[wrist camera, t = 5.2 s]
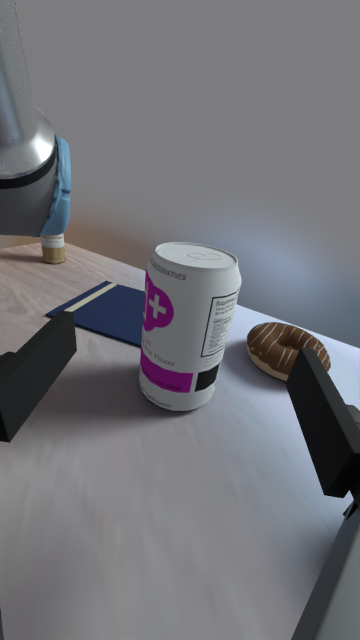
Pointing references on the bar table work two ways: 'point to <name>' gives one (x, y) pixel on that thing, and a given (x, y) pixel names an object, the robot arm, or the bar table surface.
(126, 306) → the tea towel
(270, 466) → the bar table surface
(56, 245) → the sprinkles bottle
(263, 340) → the donut
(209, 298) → the white soda can
